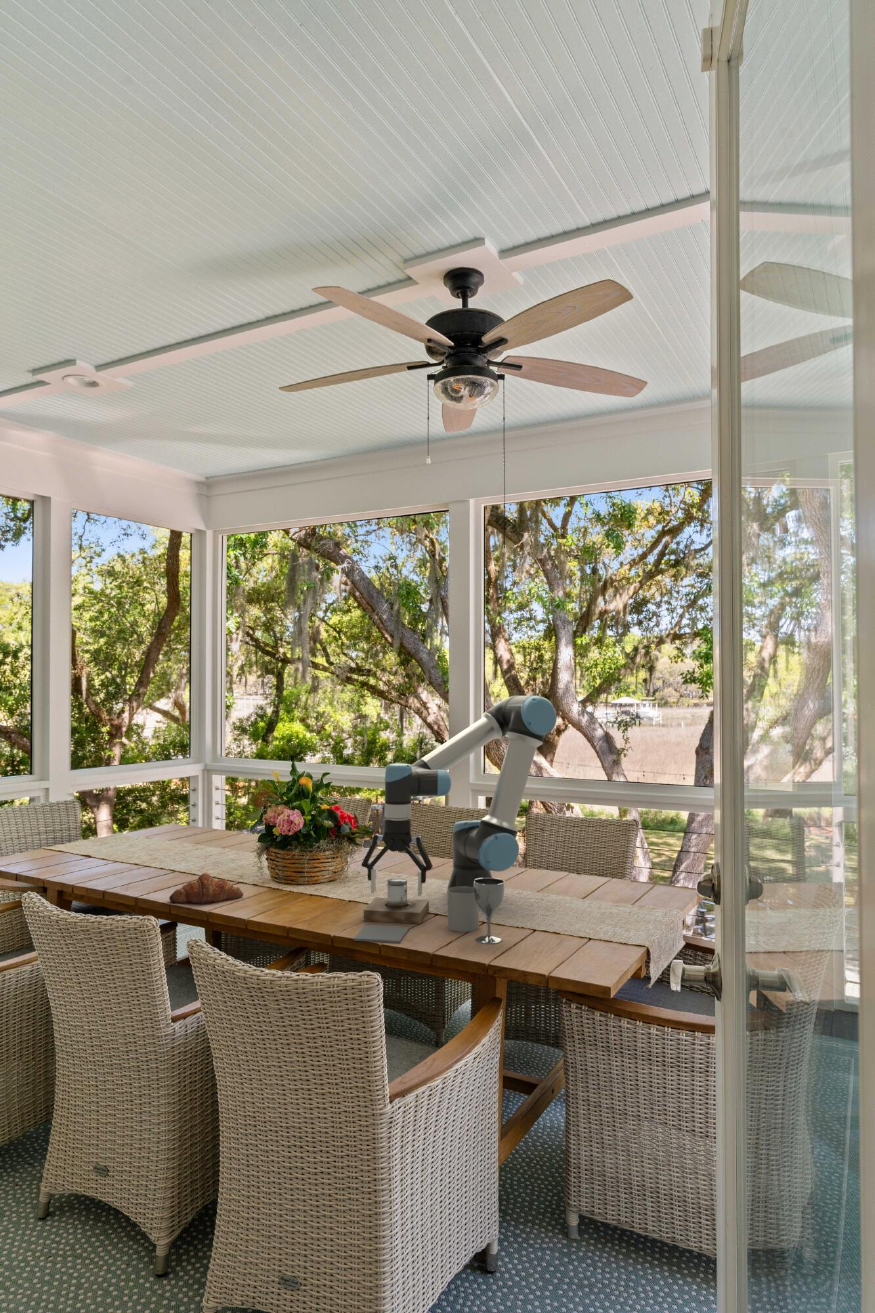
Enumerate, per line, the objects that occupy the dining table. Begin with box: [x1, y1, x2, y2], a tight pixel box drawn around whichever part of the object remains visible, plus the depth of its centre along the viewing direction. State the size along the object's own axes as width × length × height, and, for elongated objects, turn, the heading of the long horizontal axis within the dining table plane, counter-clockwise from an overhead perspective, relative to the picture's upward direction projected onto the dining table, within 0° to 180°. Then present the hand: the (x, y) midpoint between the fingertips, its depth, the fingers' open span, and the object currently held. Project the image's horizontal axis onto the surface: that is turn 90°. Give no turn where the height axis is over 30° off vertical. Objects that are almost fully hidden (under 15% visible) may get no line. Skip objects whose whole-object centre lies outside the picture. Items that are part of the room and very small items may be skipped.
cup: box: [447, 886, 480, 933], centre depth 225 cm, size 8×8×10 cm
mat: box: [353, 924, 410, 944], centre depth 217 cm, size 12×12×1 cm
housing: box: [363, 897, 430, 925], centre depth 236 cm, size 16×14×3 cm
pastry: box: [168, 872, 244, 905], centre depth 253 cm, size 17×15×8 cm
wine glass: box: [474, 877, 506, 945], centre depth 214 cm, size 8×8×15 cm
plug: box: [386, 877, 408, 908], centre depth 236 cm, size 6×6×10 cm
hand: (396, 893), depth 236 cm, fingers open, 13 cm apart
